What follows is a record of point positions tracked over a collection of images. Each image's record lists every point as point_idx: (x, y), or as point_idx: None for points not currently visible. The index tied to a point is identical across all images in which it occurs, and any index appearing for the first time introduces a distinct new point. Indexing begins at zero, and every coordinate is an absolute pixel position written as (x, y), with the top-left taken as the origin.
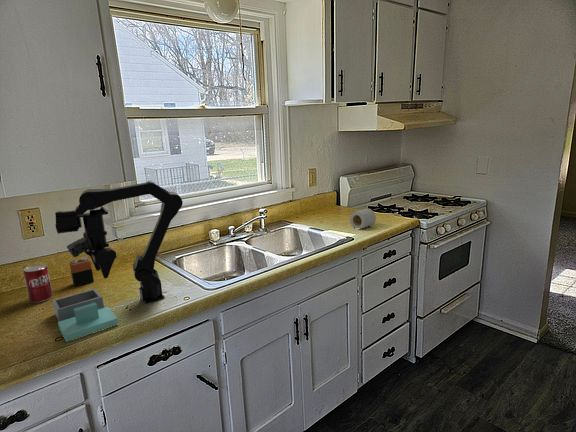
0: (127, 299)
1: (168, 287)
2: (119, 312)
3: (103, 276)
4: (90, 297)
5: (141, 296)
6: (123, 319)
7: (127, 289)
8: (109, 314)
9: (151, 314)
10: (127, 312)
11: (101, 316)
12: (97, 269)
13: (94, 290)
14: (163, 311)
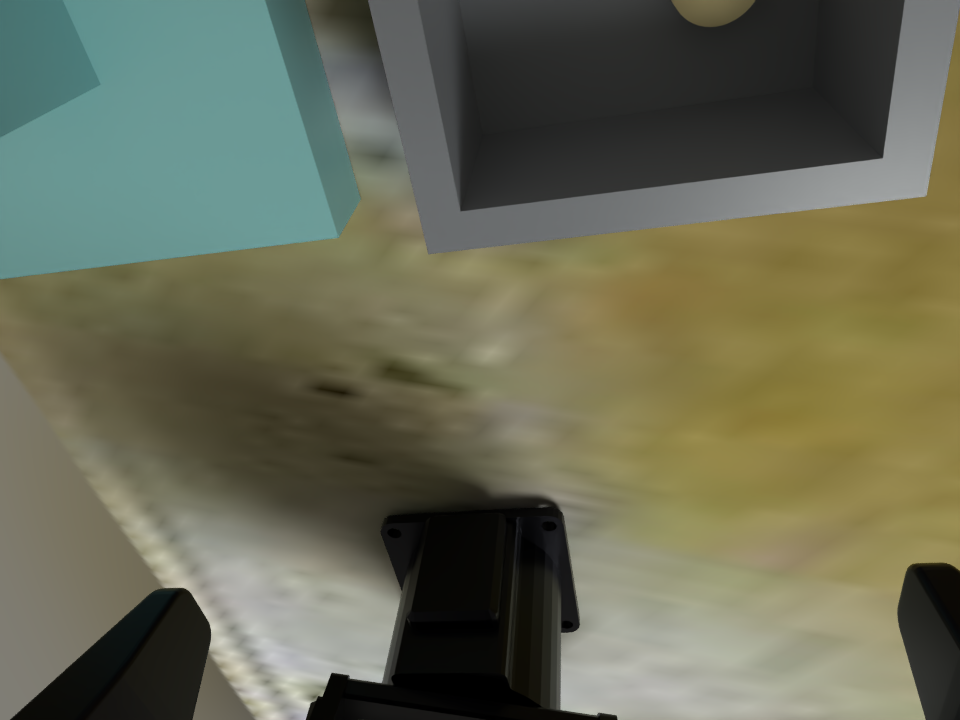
0: (616, 413)
1: (628, 684)
2: (320, 296)
3: (130, 627)
4: (844, 51)
5: (455, 540)
6: (133, 301)
7: (910, 462)
8: (90, 223)
9: (153, 492)
10: (282, 357)
11: (58, 130)
12: (920, 607)
13: (829, 177)
14: (175, 559)
